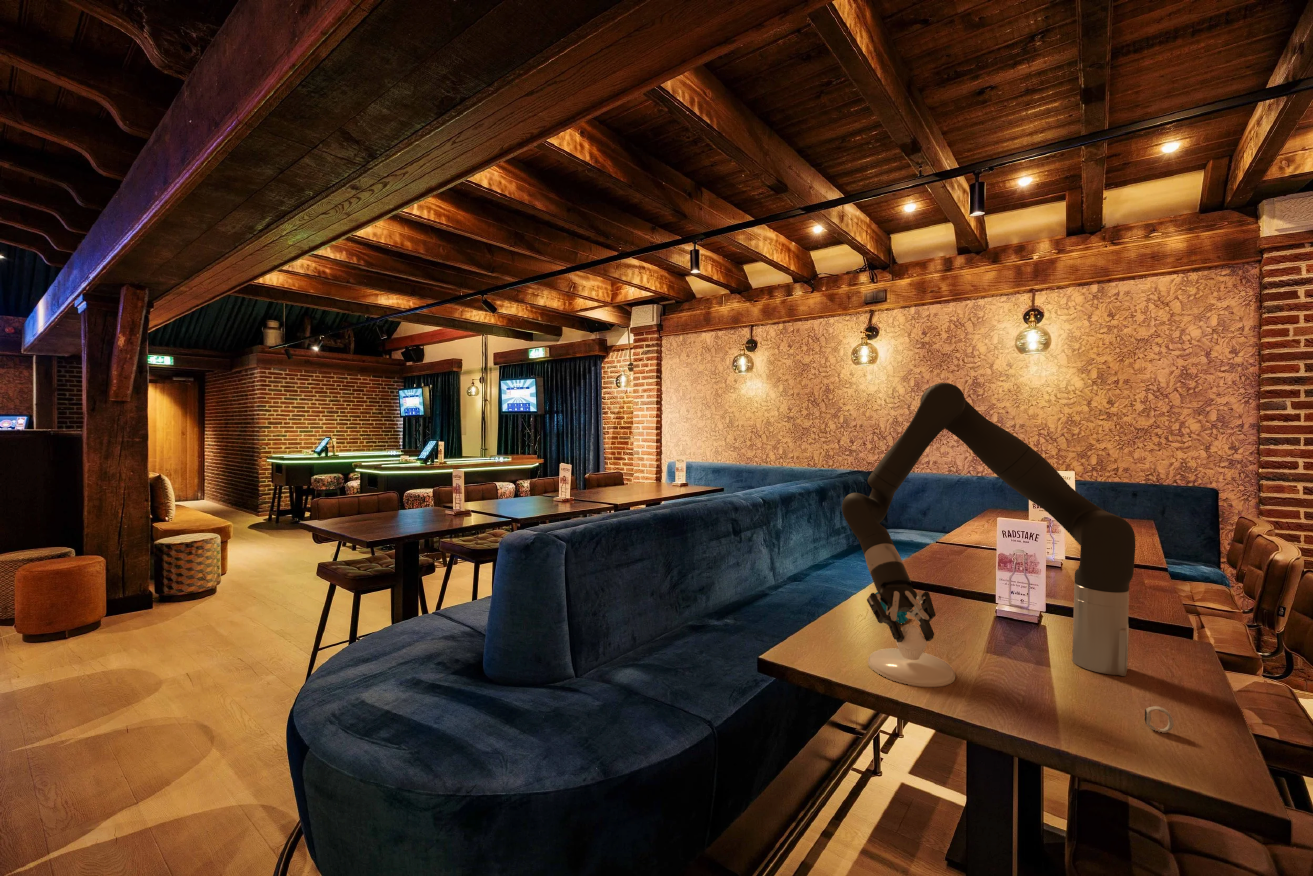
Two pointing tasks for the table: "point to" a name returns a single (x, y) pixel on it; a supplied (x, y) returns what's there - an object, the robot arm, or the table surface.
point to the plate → (911, 668)
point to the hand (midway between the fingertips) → (915, 640)
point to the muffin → (912, 642)
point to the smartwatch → (1148, 710)
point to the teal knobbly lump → (900, 615)
